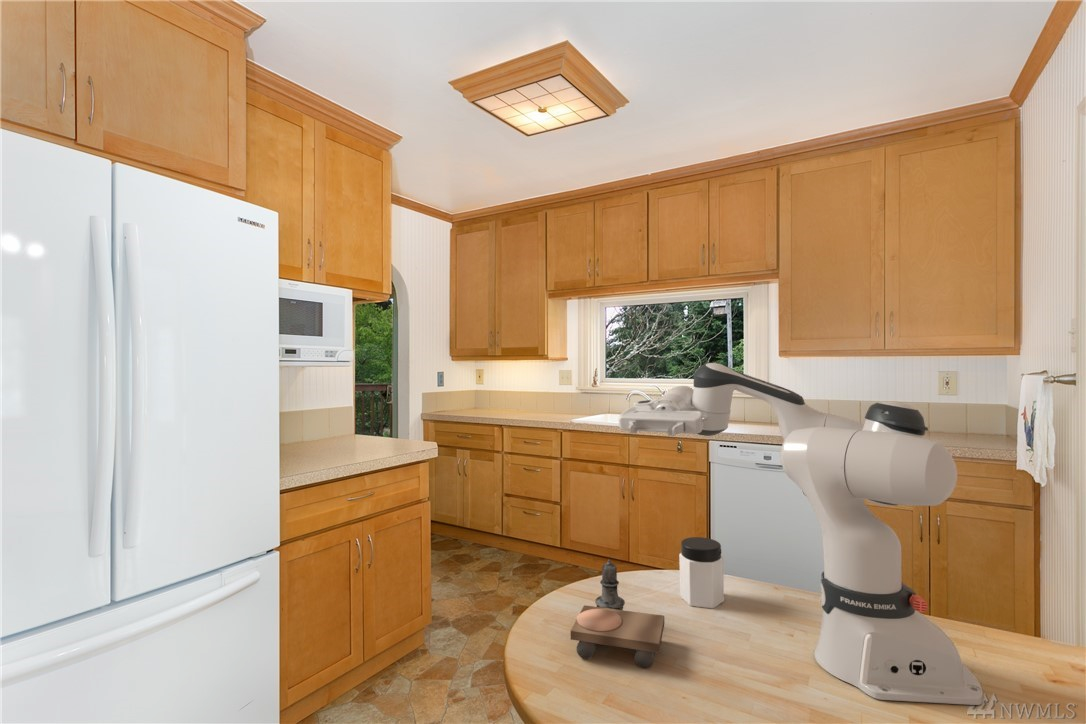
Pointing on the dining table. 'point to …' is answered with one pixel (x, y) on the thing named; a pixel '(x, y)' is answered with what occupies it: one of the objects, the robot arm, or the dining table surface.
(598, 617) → the roller slab
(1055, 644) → the dining table surface
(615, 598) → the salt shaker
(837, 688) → the dining table surface
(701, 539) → the jar
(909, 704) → the dining table surface
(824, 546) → the robot arm
